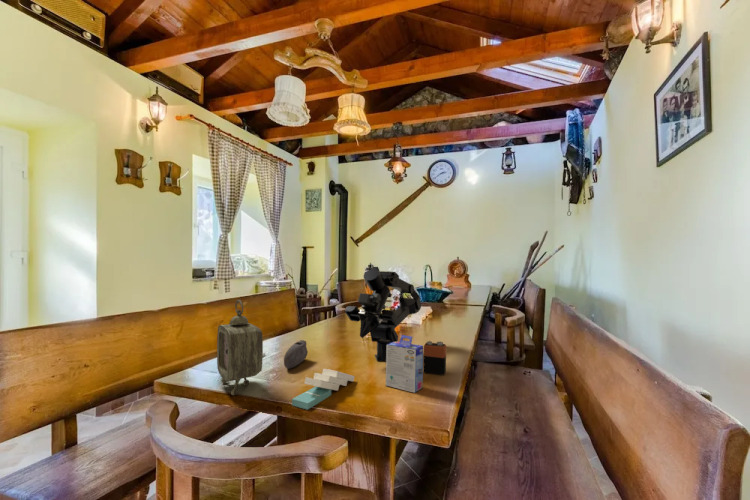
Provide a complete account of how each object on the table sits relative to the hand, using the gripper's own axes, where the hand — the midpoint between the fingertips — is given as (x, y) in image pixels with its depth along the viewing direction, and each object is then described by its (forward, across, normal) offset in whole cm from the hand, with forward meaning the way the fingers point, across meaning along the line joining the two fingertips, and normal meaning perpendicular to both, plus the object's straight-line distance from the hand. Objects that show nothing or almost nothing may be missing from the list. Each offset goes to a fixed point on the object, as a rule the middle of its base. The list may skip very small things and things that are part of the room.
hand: (361, 336), depth 109 cm
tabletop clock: (+28, -23, -12) cm, 39 cm away
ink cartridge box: (+11, +17, +6) cm, 21 cm away
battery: (0, +21, +17) cm, 27 cm away
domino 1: (+19, 0, -4) cm, 19 cm away
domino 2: (+21, 0, -6) cm, 22 cm away
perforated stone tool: (+12, -23, +4) cm, 27 cm away
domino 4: (+13, 0, +2) cm, 13 cm away
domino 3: (+16, 0, -1) cm, 16 cm away
